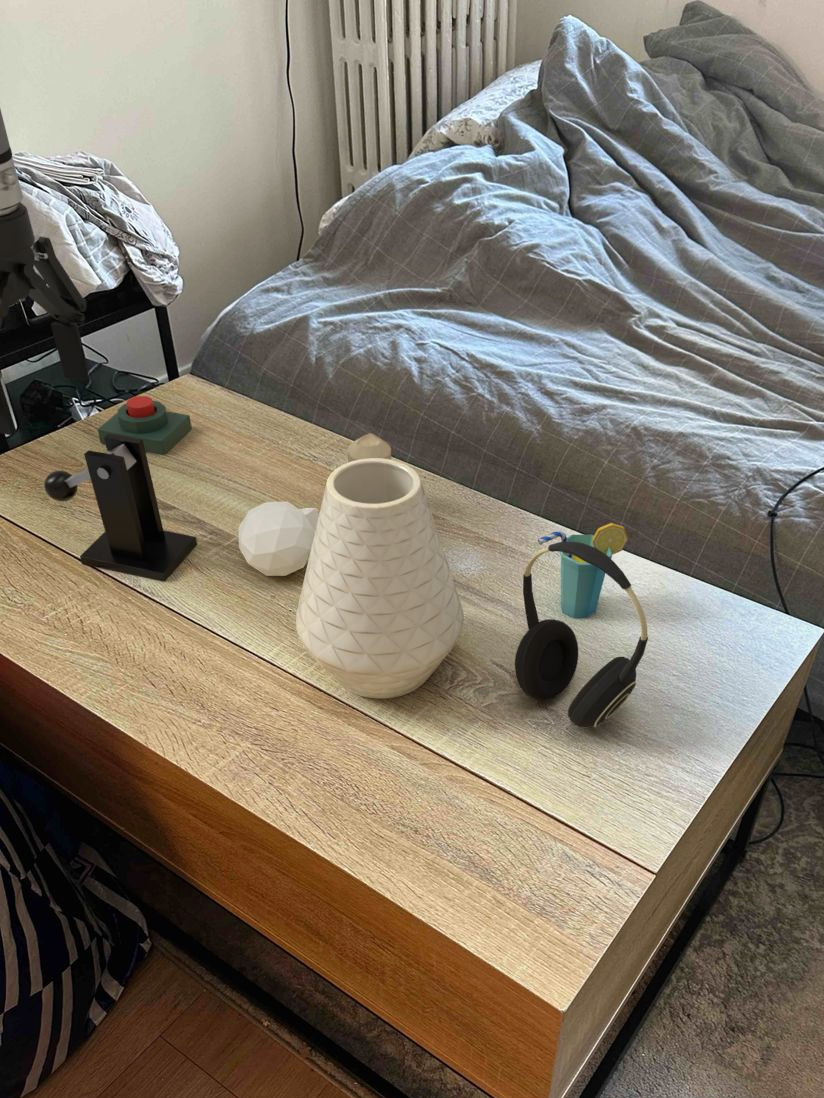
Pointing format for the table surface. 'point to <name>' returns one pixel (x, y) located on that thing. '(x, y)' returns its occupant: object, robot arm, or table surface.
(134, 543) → the bracket
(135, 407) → the button
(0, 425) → the robot arm
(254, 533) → the white faceted round piece
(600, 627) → the table surface
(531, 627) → the headphones
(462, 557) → the table surface
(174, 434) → the button box
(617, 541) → the cup
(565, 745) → the table surface
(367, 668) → the vase
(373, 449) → the candle
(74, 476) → the lever
